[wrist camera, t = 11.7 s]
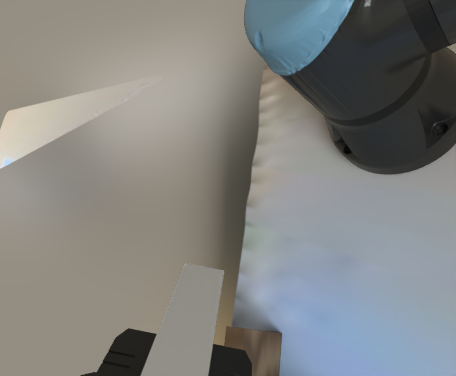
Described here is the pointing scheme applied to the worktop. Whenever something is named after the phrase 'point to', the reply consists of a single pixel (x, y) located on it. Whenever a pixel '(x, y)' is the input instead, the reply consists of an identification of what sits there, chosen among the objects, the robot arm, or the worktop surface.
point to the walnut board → (257, 348)
